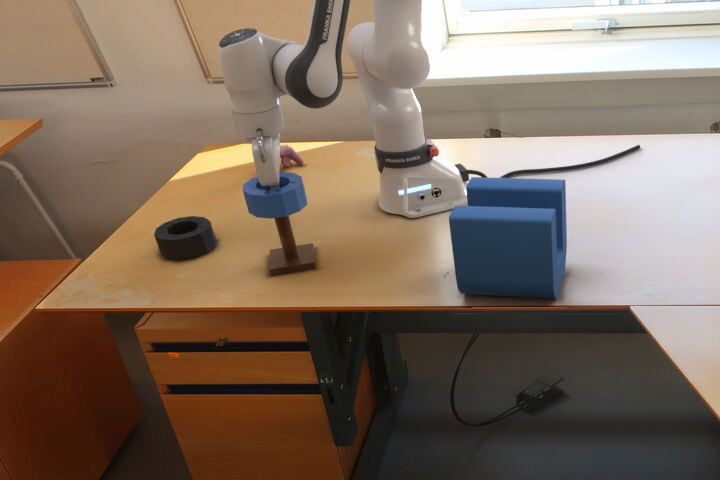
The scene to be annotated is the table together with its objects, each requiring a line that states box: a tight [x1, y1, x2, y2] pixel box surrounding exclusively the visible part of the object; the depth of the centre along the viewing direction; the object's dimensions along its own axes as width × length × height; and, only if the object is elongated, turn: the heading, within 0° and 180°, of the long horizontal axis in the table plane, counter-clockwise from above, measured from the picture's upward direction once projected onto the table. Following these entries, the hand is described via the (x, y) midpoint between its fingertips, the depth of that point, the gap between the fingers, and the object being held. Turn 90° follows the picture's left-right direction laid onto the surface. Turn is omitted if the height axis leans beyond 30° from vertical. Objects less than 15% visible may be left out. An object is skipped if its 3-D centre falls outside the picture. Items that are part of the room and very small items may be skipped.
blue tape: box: [242, 171, 308, 220], centre depth 153 cm, size 11×11×5 cm
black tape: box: [153, 215, 217, 261], centre depth 168 cm, size 11×11×5 cm
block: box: [448, 176, 568, 299], centre depth 146 cm, size 18×18×18 cm
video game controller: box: [280, 144, 304, 170], centre depth 202 cm, size 10×5×7 cm, turn 144°
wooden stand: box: [268, 215, 317, 277], centre depth 158 cm, size 9×9×12 cm
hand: (276, 189), depth 157 cm, fingers closed on blue tape, 2 cm apart
